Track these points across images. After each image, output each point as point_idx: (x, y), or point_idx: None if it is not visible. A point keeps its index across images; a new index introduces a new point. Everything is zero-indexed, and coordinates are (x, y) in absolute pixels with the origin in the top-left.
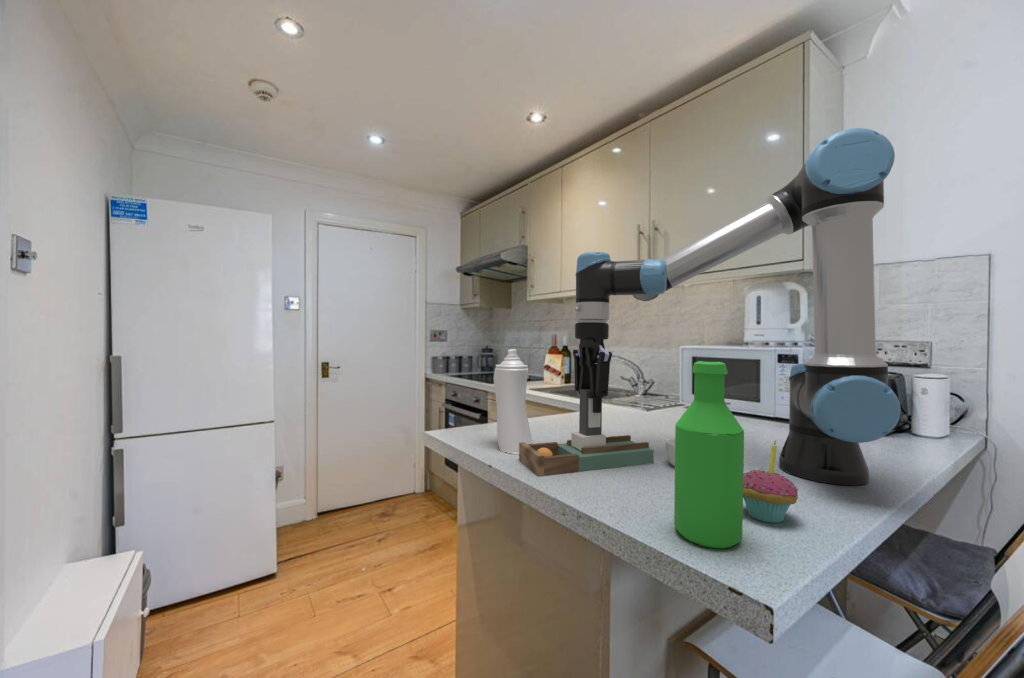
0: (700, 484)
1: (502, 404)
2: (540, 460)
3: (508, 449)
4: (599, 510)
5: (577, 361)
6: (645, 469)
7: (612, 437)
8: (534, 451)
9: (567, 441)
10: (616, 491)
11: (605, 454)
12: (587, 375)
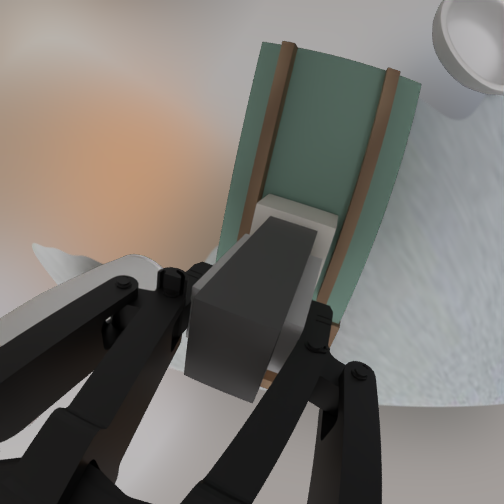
0: None
1: None
2: None
3: None
4: (461, 392)
5: (23, 425)
6: (434, 157)
7: (277, 116)
8: (268, 385)
9: None
10: (456, 329)
11: (368, 251)
12: (140, 398)
